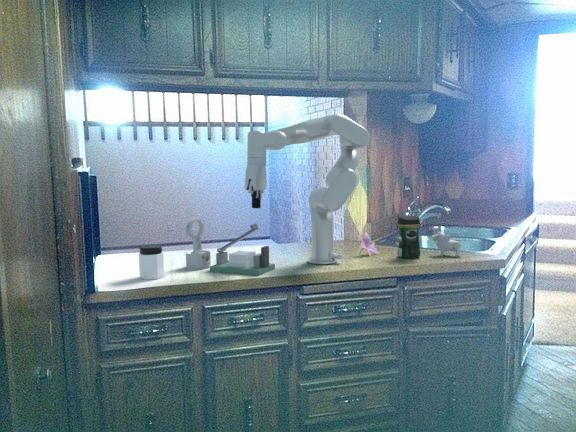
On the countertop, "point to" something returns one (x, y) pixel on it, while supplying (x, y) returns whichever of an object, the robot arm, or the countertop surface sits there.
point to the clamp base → (241, 270)
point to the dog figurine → (446, 243)
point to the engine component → (197, 249)
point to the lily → (368, 244)
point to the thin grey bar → (239, 238)
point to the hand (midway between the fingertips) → (256, 207)
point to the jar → (151, 262)
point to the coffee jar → (408, 236)
